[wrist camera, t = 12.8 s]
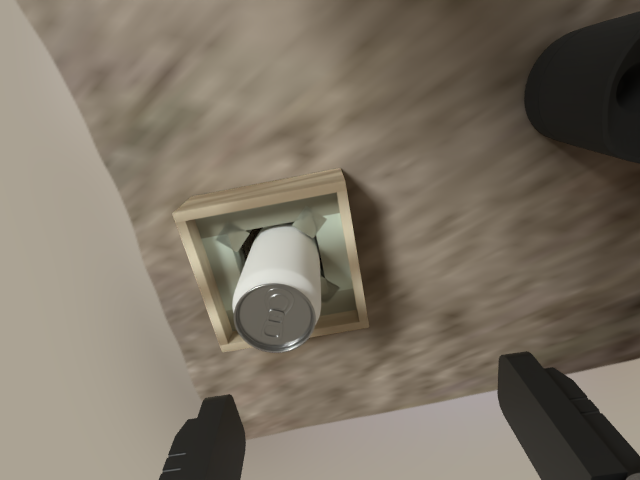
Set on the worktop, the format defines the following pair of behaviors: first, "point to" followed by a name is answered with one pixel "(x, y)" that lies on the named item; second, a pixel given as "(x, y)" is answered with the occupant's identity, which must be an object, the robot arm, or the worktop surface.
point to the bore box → (267, 210)
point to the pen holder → (590, 89)
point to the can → (279, 290)
